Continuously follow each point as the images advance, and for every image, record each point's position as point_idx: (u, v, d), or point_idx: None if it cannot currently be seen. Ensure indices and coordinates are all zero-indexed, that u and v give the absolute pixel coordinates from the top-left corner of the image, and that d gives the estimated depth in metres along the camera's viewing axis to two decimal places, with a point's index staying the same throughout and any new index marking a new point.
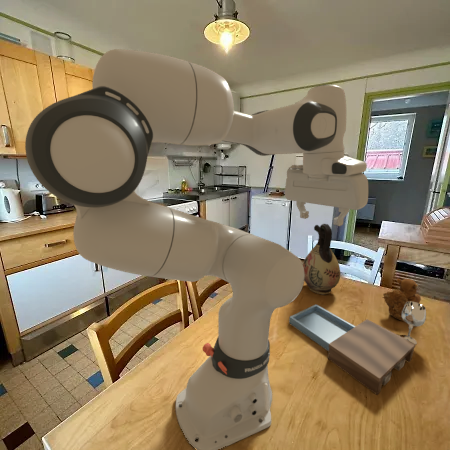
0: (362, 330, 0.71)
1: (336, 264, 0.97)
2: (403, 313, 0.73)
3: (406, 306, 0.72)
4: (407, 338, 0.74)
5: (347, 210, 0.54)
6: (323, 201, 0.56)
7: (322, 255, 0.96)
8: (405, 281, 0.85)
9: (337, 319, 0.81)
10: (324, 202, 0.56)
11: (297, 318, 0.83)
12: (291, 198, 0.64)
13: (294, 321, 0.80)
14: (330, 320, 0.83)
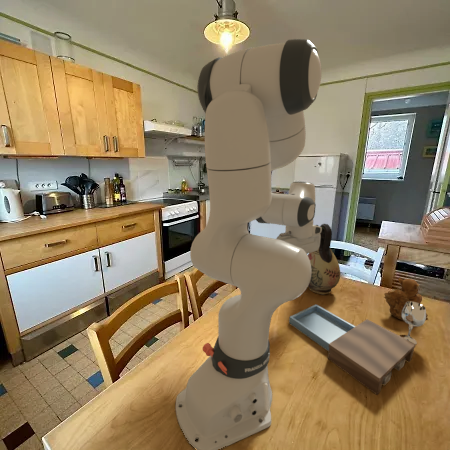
0: (362, 330, 0.71)
1: (336, 264, 0.97)
2: (403, 313, 0.73)
3: (406, 306, 0.72)
4: (407, 338, 0.74)
5: None
6: (304, 252, 0.84)
7: (322, 255, 0.96)
8: (406, 281, 0.85)
9: (337, 319, 0.81)
10: None
11: (297, 318, 0.83)
12: None
13: (294, 321, 0.80)
14: (330, 320, 0.83)
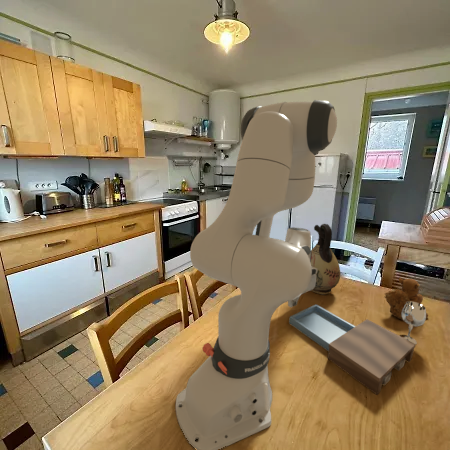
0: (362, 330, 0.71)
1: (336, 264, 0.97)
2: (403, 313, 0.73)
3: (406, 306, 0.72)
4: (407, 338, 0.74)
5: None
6: None
7: (322, 255, 0.96)
8: (407, 281, 0.86)
9: (337, 319, 0.81)
10: None
11: (297, 318, 0.83)
12: None
13: (294, 321, 0.80)
14: (330, 320, 0.83)
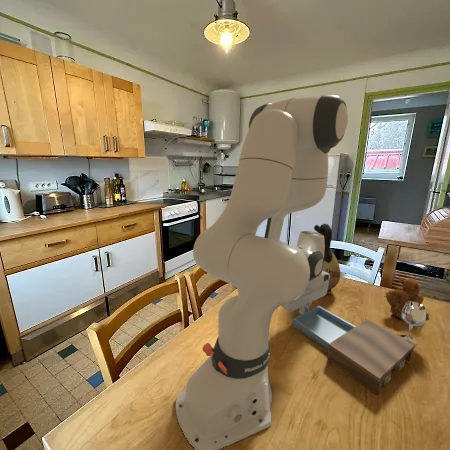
0: (362, 330, 0.71)
1: (336, 264, 0.97)
2: (403, 313, 0.73)
3: (406, 306, 0.72)
4: (407, 338, 0.74)
5: None
6: (312, 299, 0.83)
7: None
8: (408, 281, 0.86)
9: (340, 321, 0.80)
10: (313, 299, 0.83)
11: (300, 320, 0.82)
12: (294, 309, 0.78)
13: (297, 323, 0.79)
14: (333, 322, 0.82)
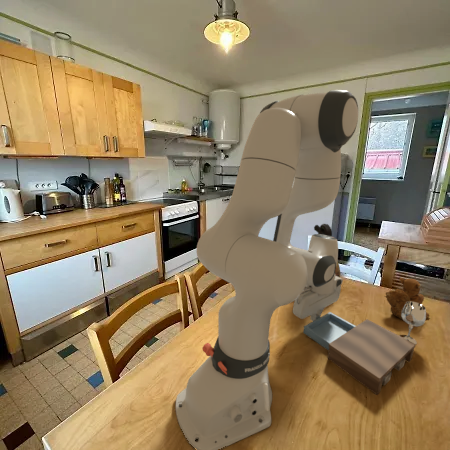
0: (362, 330, 0.71)
1: None
2: (403, 313, 0.73)
3: (406, 306, 0.72)
4: (407, 338, 0.74)
5: None
6: (324, 305, 0.79)
7: None
8: (408, 281, 0.86)
9: None
10: (325, 305, 0.80)
11: (312, 327, 0.78)
12: (306, 316, 0.74)
13: (309, 331, 0.75)
14: (346, 329, 0.78)
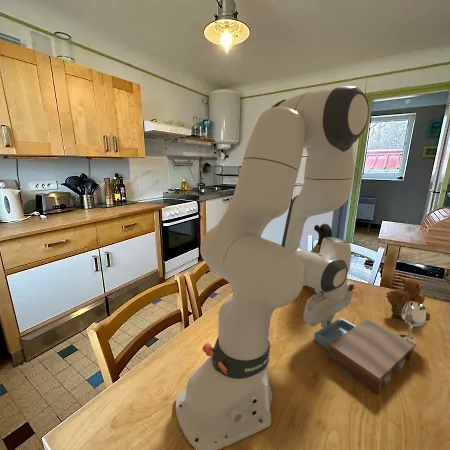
0: (362, 330, 0.71)
1: None
2: (403, 313, 0.73)
3: (406, 306, 0.72)
4: (407, 338, 0.74)
5: None
6: (336, 311, 0.76)
7: None
8: (409, 281, 0.86)
9: None
10: (336, 311, 0.76)
11: (322, 334, 0.75)
12: (317, 323, 0.71)
13: (320, 338, 0.72)
14: None
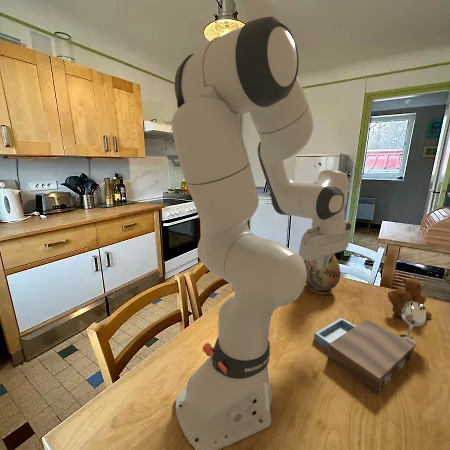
0: (362, 330, 0.71)
1: (336, 264, 0.97)
2: (403, 313, 0.73)
3: (406, 306, 0.72)
4: (407, 338, 0.74)
5: None
6: (333, 251, 0.74)
7: None
8: (410, 280, 0.86)
9: None
10: (333, 252, 0.74)
11: (322, 334, 0.75)
12: (313, 258, 0.69)
13: (320, 338, 0.72)
14: None
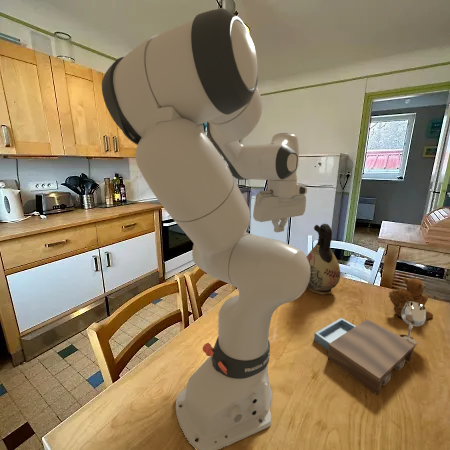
0: (362, 330, 0.71)
1: (336, 264, 0.97)
2: (403, 313, 0.73)
3: (406, 306, 0.72)
4: (407, 338, 0.74)
5: None
6: (288, 215, 0.77)
7: (322, 255, 0.96)
8: (411, 280, 0.86)
9: None
10: (288, 215, 0.77)
11: (322, 334, 0.75)
12: (266, 219, 0.72)
13: (320, 338, 0.72)
14: None
